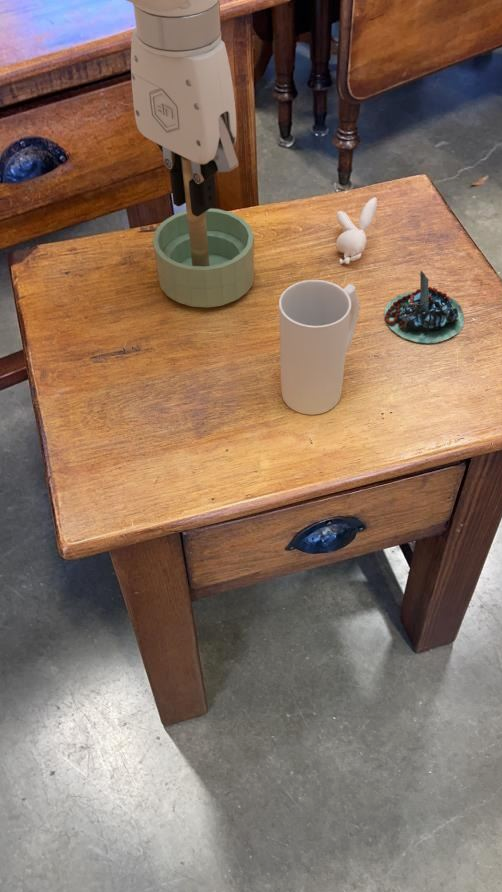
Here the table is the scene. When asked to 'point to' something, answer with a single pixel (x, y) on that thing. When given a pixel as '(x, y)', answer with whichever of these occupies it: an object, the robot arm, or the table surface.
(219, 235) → the bowl
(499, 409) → the table surface
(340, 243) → the rabbit figurine
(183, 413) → the table surface
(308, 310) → the mug
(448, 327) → the dish
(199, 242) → the stick
